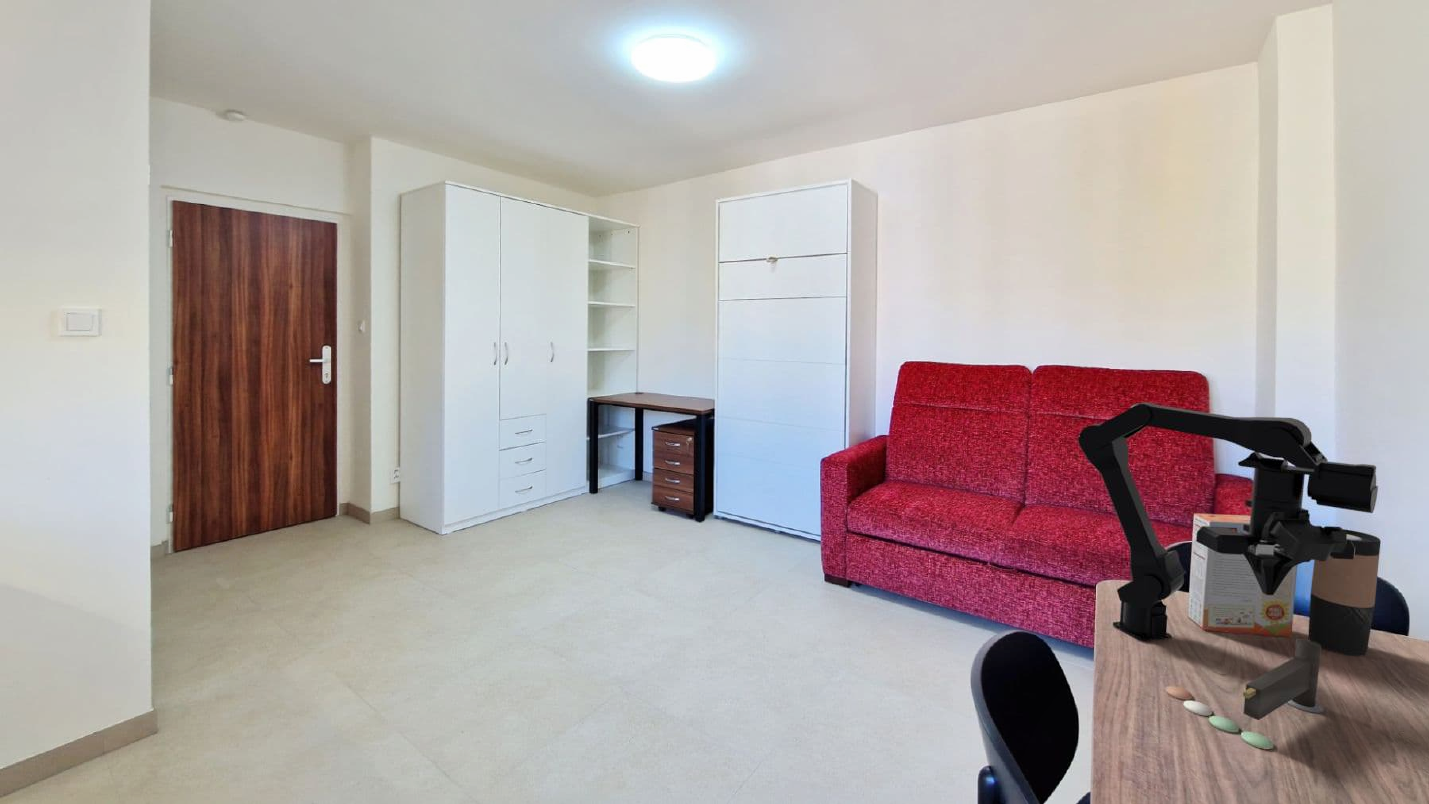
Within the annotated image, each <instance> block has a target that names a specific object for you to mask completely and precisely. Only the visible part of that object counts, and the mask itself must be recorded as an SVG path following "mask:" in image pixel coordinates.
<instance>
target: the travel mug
mask: <svg viewBox="0 0 1429 804" xmlns="http://www.w3.org/2000/svg"><path fill="white" fill-rule="evenodd" d="M1342 529H1343V530H1344V531H1346V532H1347V539H1349V540H1350V541H1351V542H1352V543H1353V545H1354V547H1355V556H1354V559H1334V558H1331V557H1330V556H1329V557H1328V559H1327V561H1319V560H1313V570H1312V577H1311V578H1312V579H1311V587H1310V598H1309V616H1308V617H1309V618H1308V640H1310V641H1313V642H1316V643H1318V644H1320V645H1321V649H1324V650H1327V651H1329V652H1332V651H1333V653H1336V652H1337V653H1336V654H1340V653H1341V655H1345V656H1351V655H1353V656H1354V657H1362V655H1363V656H1365V655H1367V652H1368V648H1369V642H1370V634H1371V629H1372V624H1373V617H1374V612H1375V611H1374V610H1375V603H1376V593H1377V584H1378V583H1377V582H1378V575H1379V574H1378V573H1379V564H1380V563H1379V562H1380V553H1381V539H1380V538H1379V537H1378V536H1375V535H1372V534H1370V533H1366V532H1361V531H1355V530H1349V529H1344V528H1342Z"/></svg>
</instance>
